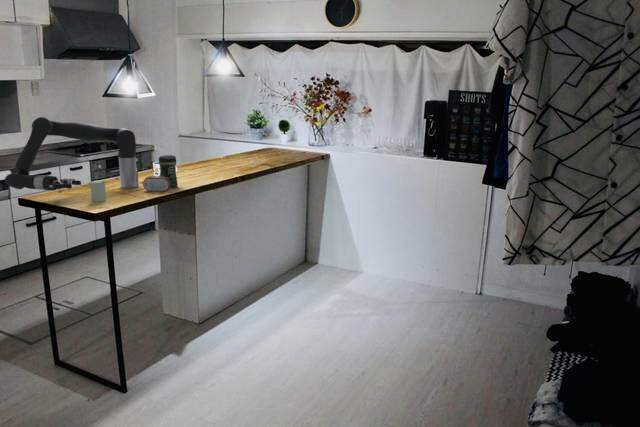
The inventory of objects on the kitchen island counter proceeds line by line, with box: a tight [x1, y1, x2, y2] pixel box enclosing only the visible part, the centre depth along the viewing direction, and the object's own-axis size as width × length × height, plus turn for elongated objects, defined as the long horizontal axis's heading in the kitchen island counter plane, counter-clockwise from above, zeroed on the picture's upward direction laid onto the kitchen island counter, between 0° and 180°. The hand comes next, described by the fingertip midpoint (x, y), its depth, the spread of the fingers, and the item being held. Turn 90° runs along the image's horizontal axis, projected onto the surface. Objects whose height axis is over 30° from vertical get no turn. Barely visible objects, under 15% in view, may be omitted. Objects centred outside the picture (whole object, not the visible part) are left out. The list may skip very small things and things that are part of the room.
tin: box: [142, 175, 171, 193], centre depth 296 cm, size 15×3×8 cm, turn 92°
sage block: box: [89, 179, 107, 203], centre depth 270 cm, size 5×5×10 cm
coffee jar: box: [158, 154, 178, 189], centre depth 306 cm, size 10×8×19 cm
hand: (76, 184), depth 270 cm, fingers open, 8 cm apart
